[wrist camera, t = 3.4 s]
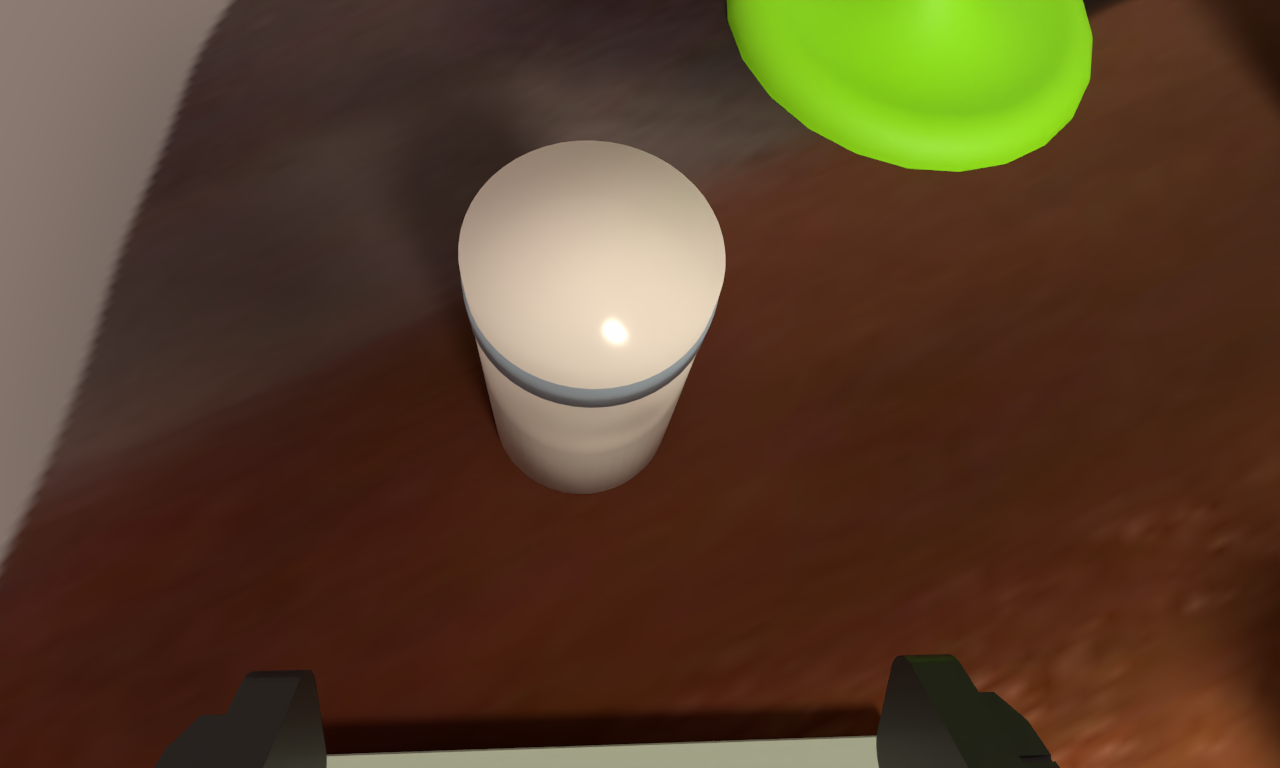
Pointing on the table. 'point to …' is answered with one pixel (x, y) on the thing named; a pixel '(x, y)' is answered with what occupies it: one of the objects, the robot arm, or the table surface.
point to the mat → (640, 755)
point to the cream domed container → (588, 305)
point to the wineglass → (921, 73)
